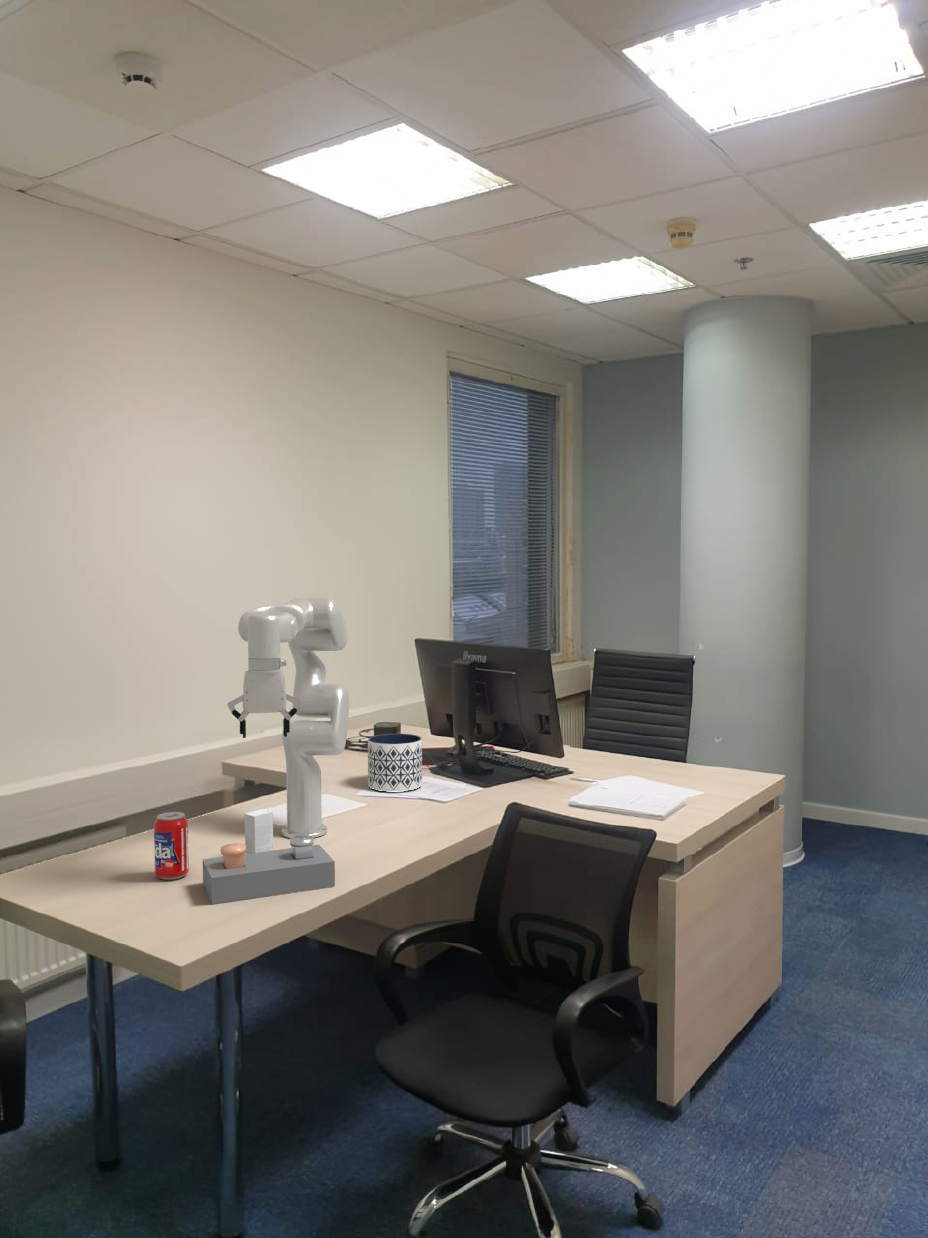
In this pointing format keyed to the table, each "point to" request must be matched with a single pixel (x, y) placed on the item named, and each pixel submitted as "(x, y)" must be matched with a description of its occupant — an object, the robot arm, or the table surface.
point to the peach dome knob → (233, 855)
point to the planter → (394, 762)
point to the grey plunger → (301, 846)
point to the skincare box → (259, 831)
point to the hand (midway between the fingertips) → (264, 736)
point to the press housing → (267, 875)
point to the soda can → (171, 846)
